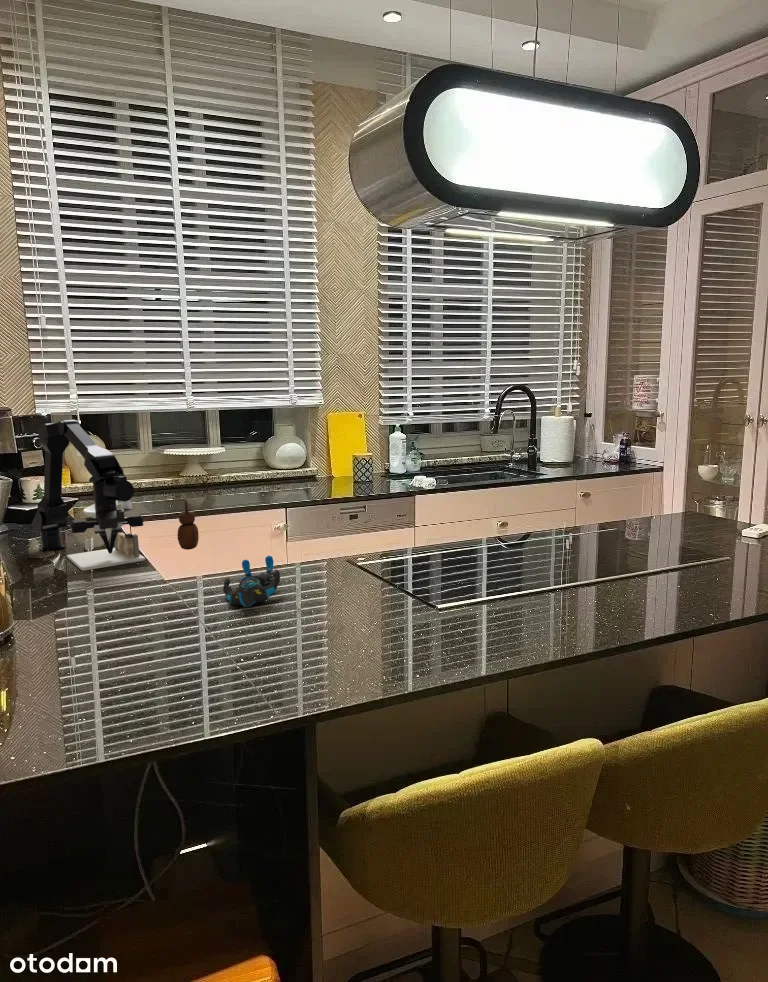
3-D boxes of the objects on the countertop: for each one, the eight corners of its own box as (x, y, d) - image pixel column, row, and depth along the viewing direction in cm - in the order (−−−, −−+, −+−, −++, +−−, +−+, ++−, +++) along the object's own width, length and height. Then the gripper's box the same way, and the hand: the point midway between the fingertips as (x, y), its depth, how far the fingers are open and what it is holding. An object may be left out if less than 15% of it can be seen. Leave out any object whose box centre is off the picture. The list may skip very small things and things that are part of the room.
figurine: (282, 553, 192) (273, 580, 162) (286, 576, 192) (278, 608, 163) (230, 561, 191) (211, 590, 161) (235, 585, 192) (217, 618, 162)
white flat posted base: (67, 557, 219) (64, 534, 218) (126, 548, 229) (124, 526, 227) (82, 570, 204) (79, 545, 202) (145, 560, 213) (143, 536, 212)
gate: (114, 547, 224) (113, 528, 223) (121, 546, 225) (119, 527, 224) (128, 556, 213) (126, 535, 212) (135, 555, 214) (133, 534, 213)
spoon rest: (106, 521, 275) (104, 501, 273) (77, 520, 277) (75, 501, 276) (139, 509, 297) (138, 491, 296) (113, 509, 300) (111, 491, 299)
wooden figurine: (195, 550, 223) (192, 500, 220) (176, 551, 223) (172, 501, 220) (201, 545, 229) (198, 497, 227) (182, 546, 230) (179, 497, 227)
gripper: (69, 506, 199) (75, 563, 201) (142, 499, 206) (147, 555, 208) (69, 500, 209) (74, 554, 211) (139, 493, 216) (143, 546, 218)
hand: (110, 553), depth 212 cm, fingers closed
